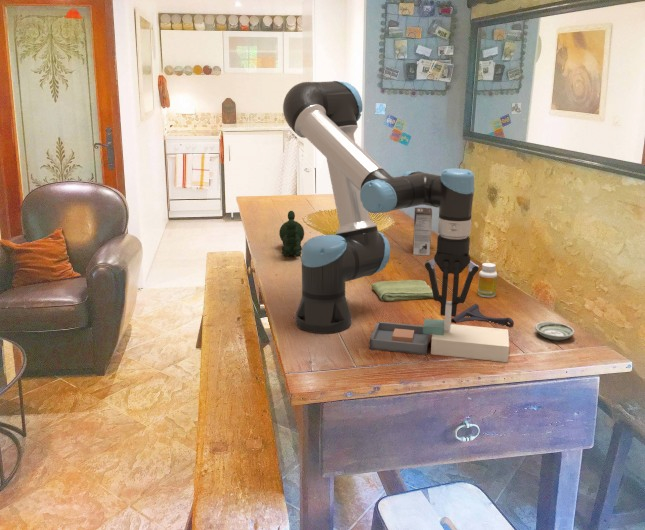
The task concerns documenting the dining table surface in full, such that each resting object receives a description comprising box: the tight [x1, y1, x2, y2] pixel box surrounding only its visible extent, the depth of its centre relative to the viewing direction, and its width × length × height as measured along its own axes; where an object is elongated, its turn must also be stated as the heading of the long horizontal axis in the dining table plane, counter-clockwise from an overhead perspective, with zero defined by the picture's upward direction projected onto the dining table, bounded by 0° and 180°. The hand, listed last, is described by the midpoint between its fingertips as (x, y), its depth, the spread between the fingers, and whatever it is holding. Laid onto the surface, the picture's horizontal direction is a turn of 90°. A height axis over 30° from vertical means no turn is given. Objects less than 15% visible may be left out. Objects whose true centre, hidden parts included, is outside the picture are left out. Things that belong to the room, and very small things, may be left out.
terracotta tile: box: [392, 328, 414, 343], centre depth 160 cm, size 5×5×2 cm
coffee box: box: [412, 207, 433, 256], centre depth 237 cm, size 9×6×16 cm
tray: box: [368, 321, 432, 356], centre depth 160 cm, size 14×12×2 cm
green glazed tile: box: [422, 318, 445, 335], centre depth 157 cm, size 5×5×2 cm
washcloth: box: [371, 279, 434, 302], centre depth 195 cm, size 13×18×3 cm
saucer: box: [534, 321, 575, 341], centre depth 164 cm, size 10×10×2 cm
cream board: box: [430, 323, 510, 363], centre depth 156 cm, size 18×11×4 cm, turn 76°
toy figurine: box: [278, 210, 305, 258], centre depth 235 cm, size 9×19×25 cm
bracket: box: [451, 303, 515, 328], centre depth 174 cm, size 14×15×3 cm
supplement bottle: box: [477, 262, 498, 298], centre depth 193 cm, size 5×5×10 cm
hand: (447, 327), depth 156 cm, fingers closed
